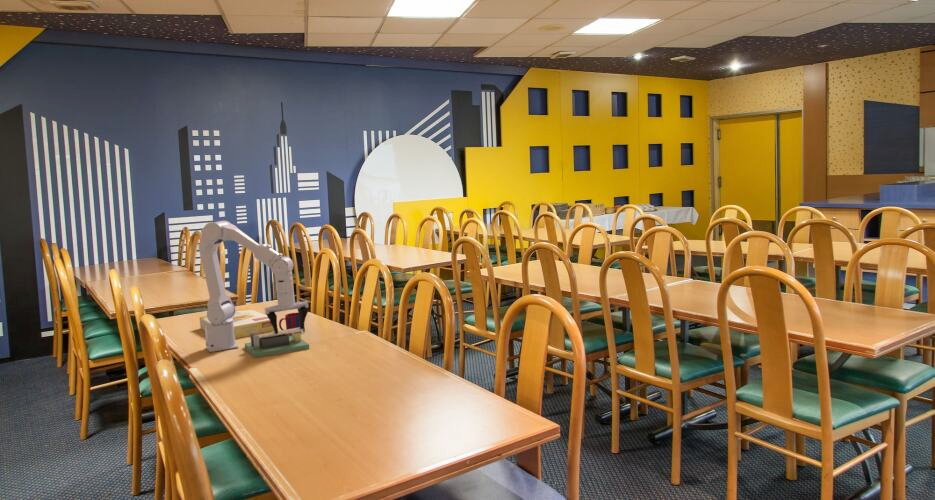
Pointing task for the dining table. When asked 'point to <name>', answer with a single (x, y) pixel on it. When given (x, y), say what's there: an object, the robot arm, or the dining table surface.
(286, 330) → the beige long bar
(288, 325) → the mug
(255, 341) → the dark and beige blocks
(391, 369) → the dining table surface
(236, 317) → the cereal box
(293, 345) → the circuit board
